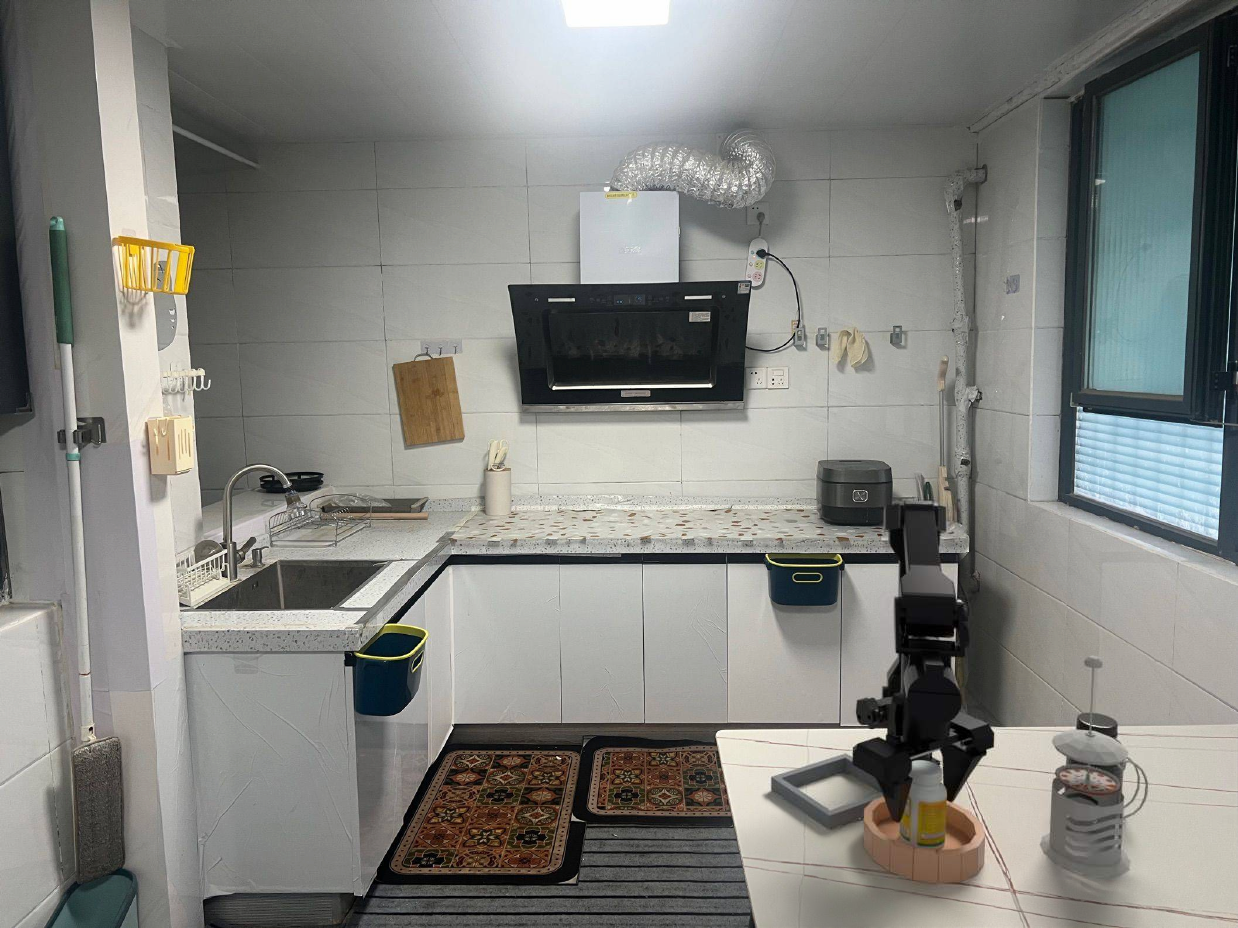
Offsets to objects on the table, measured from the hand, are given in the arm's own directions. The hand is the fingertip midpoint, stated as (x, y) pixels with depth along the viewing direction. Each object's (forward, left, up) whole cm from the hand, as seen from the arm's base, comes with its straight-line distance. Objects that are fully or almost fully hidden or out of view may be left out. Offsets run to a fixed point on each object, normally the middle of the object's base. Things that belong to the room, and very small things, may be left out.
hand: (923, 810), depth 105 cm
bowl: (0, 0, -5) cm, 5 cm away
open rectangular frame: (0, -15, -5) cm, 16 cm away
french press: (-17, +11, -5) cm, 21 cm away
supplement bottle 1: (0, 0, -4) cm, 4 cm away
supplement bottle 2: (-28, +4, -5) cm, 29 cm away
